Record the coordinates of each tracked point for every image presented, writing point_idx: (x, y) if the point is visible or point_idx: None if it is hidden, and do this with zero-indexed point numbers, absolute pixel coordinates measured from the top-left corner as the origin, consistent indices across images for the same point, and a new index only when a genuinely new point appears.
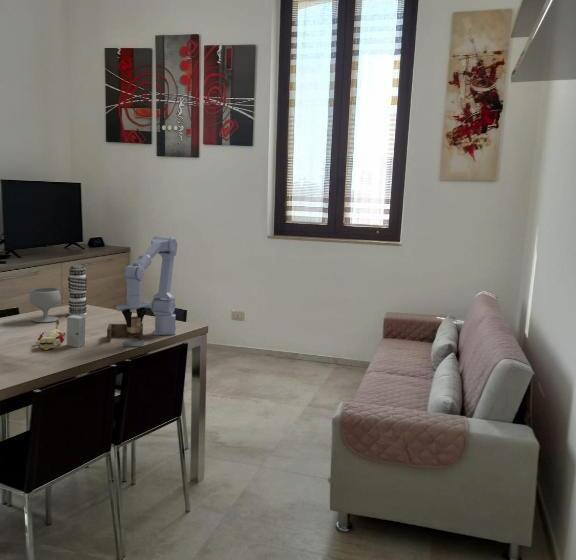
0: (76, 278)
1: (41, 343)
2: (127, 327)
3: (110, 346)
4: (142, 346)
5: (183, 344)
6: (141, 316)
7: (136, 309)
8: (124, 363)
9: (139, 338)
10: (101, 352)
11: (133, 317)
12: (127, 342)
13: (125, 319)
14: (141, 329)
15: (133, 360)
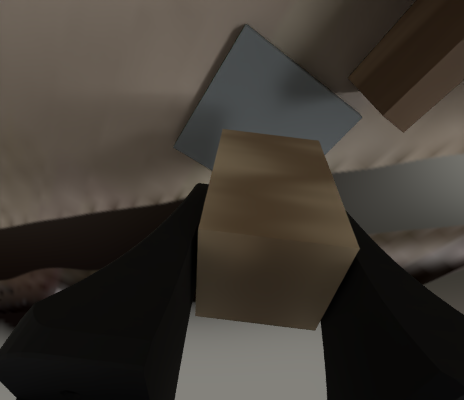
0: None
1: None
2: (217, 153)
3: (107, 61)
4: None
5: (449, 270)
6: (330, 354)
7: (423, 377)
8: None
9: (355, 85)
10: (31, 147)
11: (273, 273)
12: (238, 83)
13: (159, 231)
14: (396, 125)
15: None
